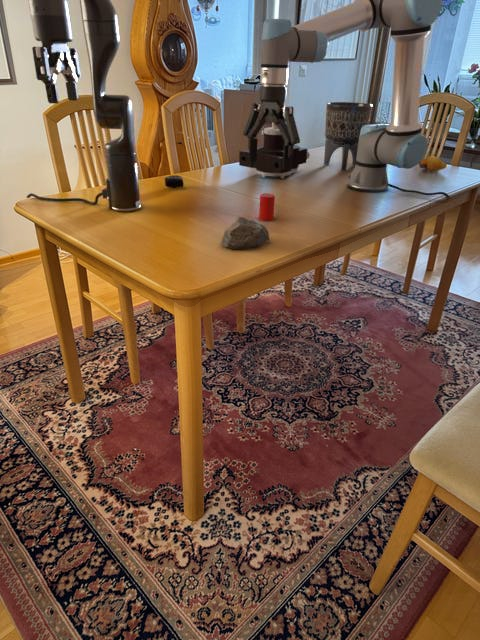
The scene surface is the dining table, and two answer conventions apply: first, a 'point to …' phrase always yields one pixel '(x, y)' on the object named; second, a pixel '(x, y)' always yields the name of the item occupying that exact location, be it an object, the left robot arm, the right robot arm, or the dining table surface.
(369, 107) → the planter
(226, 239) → the rock
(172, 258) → the dining table surface
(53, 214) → the dining table surface
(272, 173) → the mechanical component
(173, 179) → the tape measure
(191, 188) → the dining table surface
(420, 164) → the toy
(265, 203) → the canister
